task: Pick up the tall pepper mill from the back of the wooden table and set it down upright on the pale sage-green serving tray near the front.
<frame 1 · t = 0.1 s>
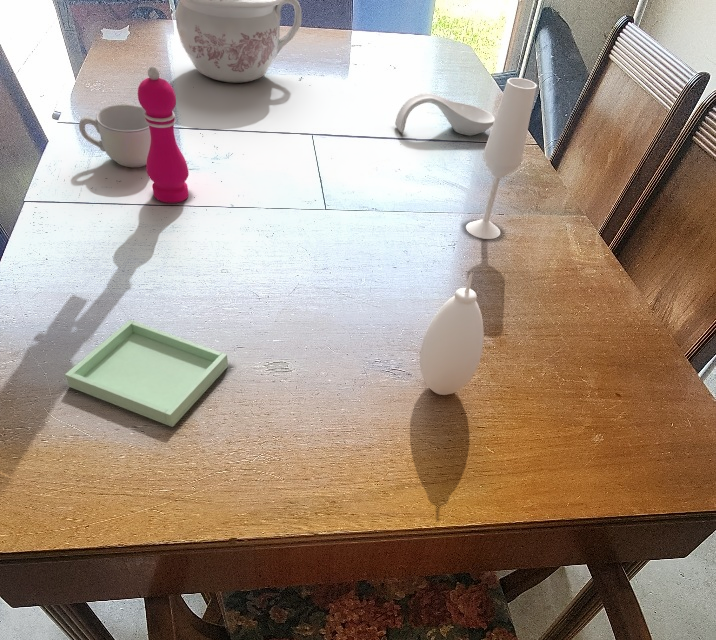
champagne flute: (482, 230, 115), on the table
teacup: (126, 161, 119), on the table
spoon rest: (444, 131, 143), on the table
sauce bottle: (440, 390, 85), on the table
chamber pot: (232, 74, 153), on the table
tray: (151, 376, 81), on the table
pepper mill: (171, 196, 112), on the table
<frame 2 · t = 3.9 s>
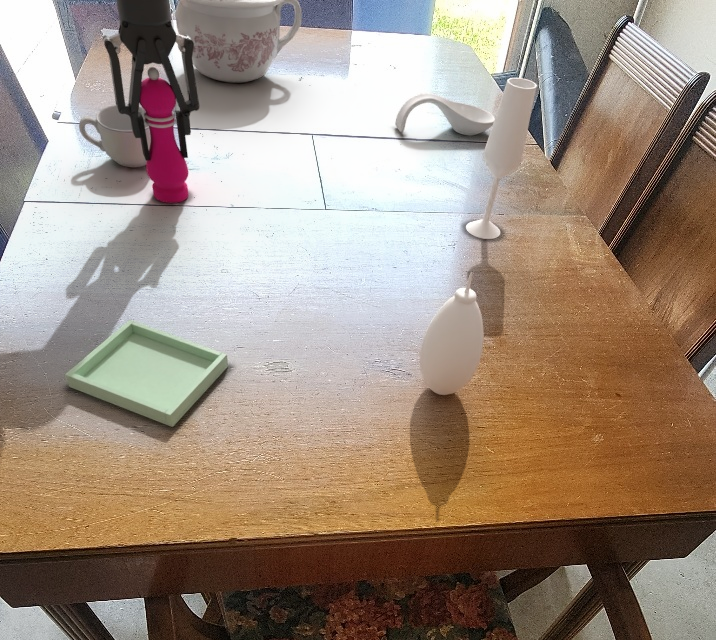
hand: (165, 155, 106), 7 cm above the table, tool pointing down, fingers closed on pepper mill, 6 cm apart
pepper mill: (171, 196, 112), on the table, touching gripper
everything else where it was.
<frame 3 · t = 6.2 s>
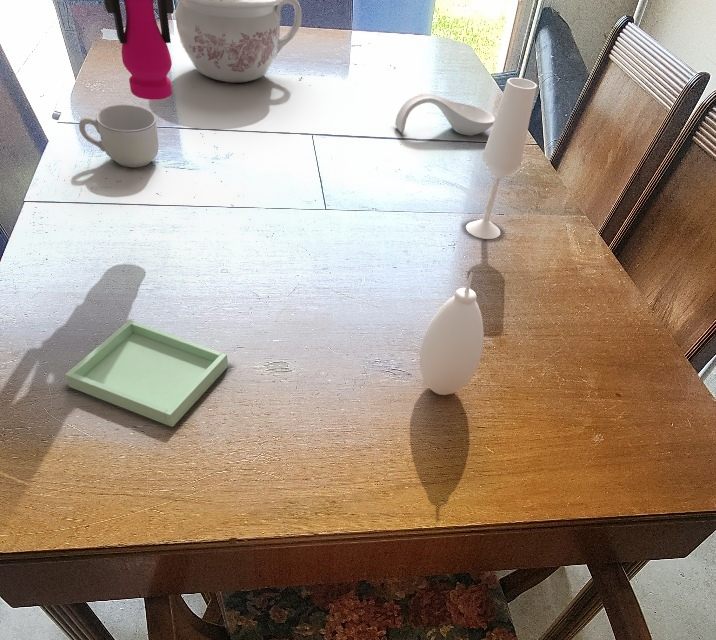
hand: (144, 39, 90), 25 cm above the table, tool pointing down, fingers closed on pepper mill, 6 cm apart
pepper mill: (152, 93, 96), point 18 cm above the table, touching gripper
everything else where it was.
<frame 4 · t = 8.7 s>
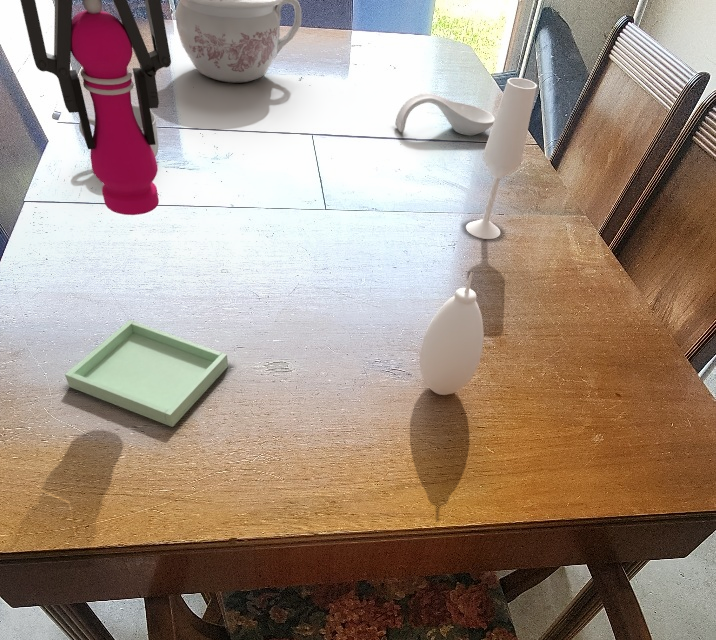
hand: (120, 141, 68), 25 cm above the table, tool pointing down, fingers closed on pepper mill, 6 cm apart
pepper mill: (132, 204, 73), point 18 cm above the table, touching gripper
everything else where it was.
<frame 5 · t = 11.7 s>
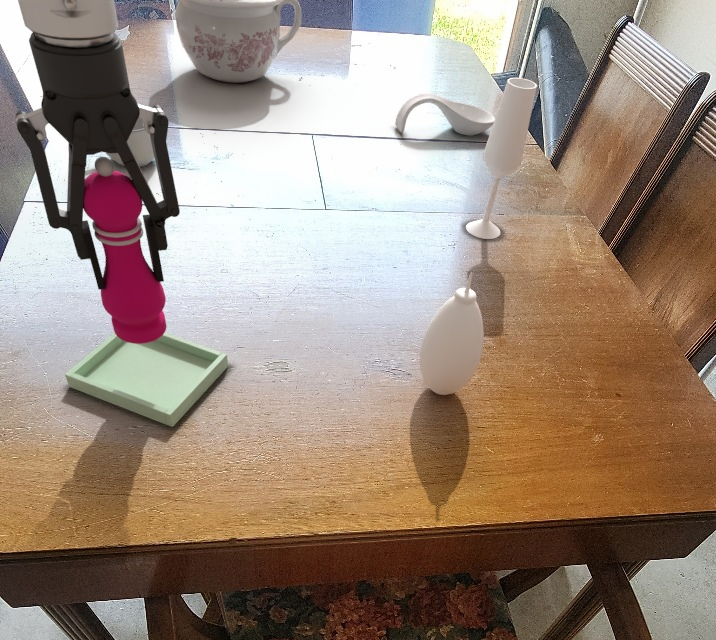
hand: (129, 278, 70), 14 cm above the table, tool pointing down, fingers closed on pepper mill, 6 cm apart
pepper mill: (141, 330, 75), point 7 cm above the table, touching gripper
everything else where it was.
when the fingers open (7 cm above the table, at t = 13.7 s): pepper mill stays where it is, resting on tray.
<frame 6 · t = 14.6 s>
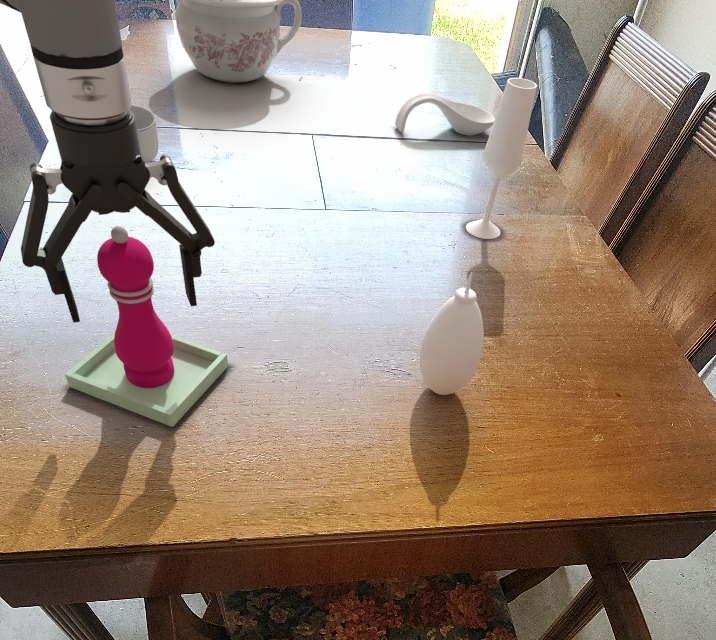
hand: (135, 307, 73), 11 cm above the table, tool pointing down, fingers open, 13 cm apart
pepper mill: (150, 374, 81), resting on tray
everything else where it was.
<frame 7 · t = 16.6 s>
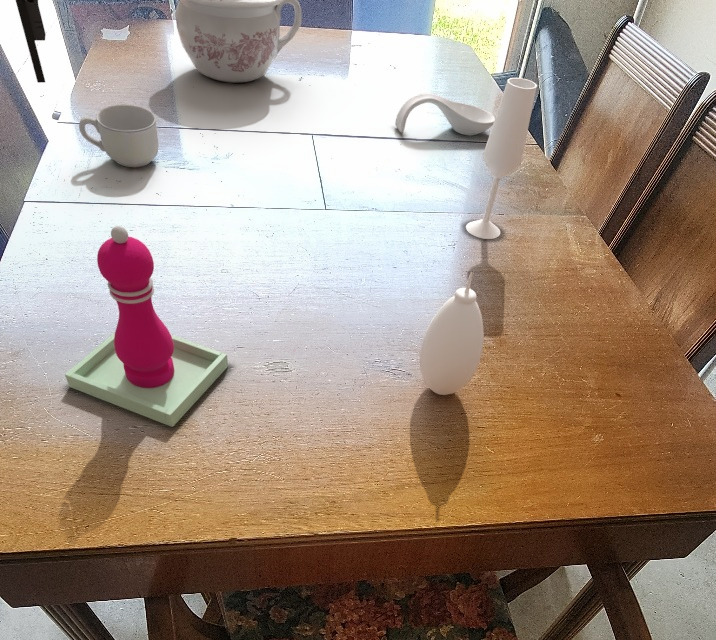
nothing on the table moved.
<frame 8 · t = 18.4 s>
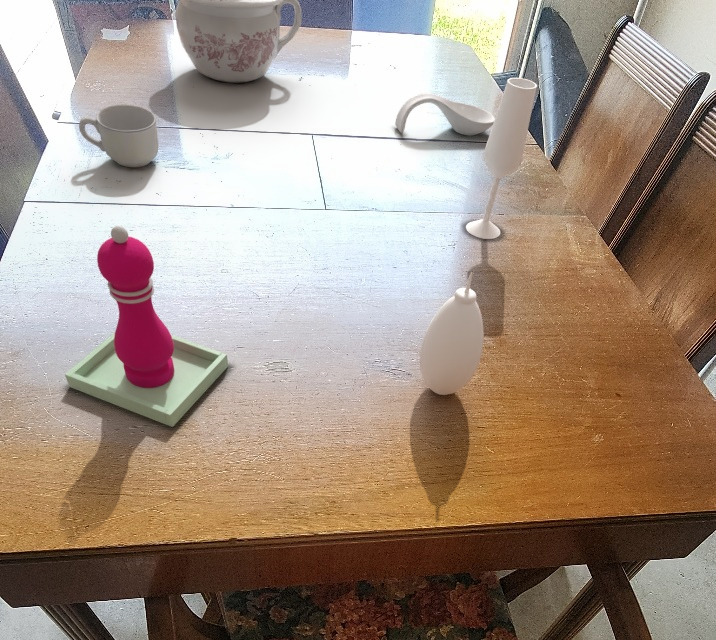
nothing on the table moved.
at the end: pepper mill inside the target area in the tray (0.0 cm from its centre), point 0.4 cm above the tray's base; pepper mill tilted 0° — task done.
